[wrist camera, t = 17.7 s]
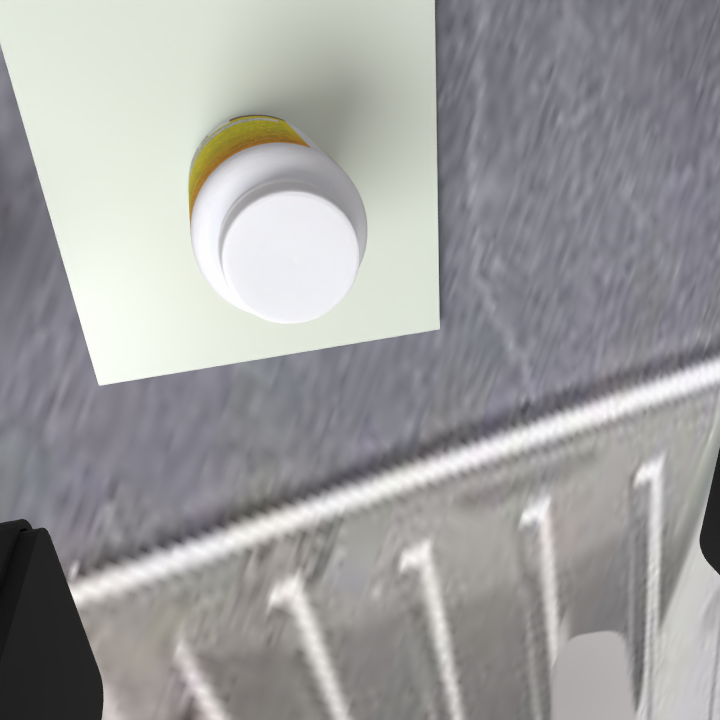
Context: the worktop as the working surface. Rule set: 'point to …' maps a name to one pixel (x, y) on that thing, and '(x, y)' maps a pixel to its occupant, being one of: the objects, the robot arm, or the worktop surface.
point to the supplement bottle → (274, 220)
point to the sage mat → (181, 139)
